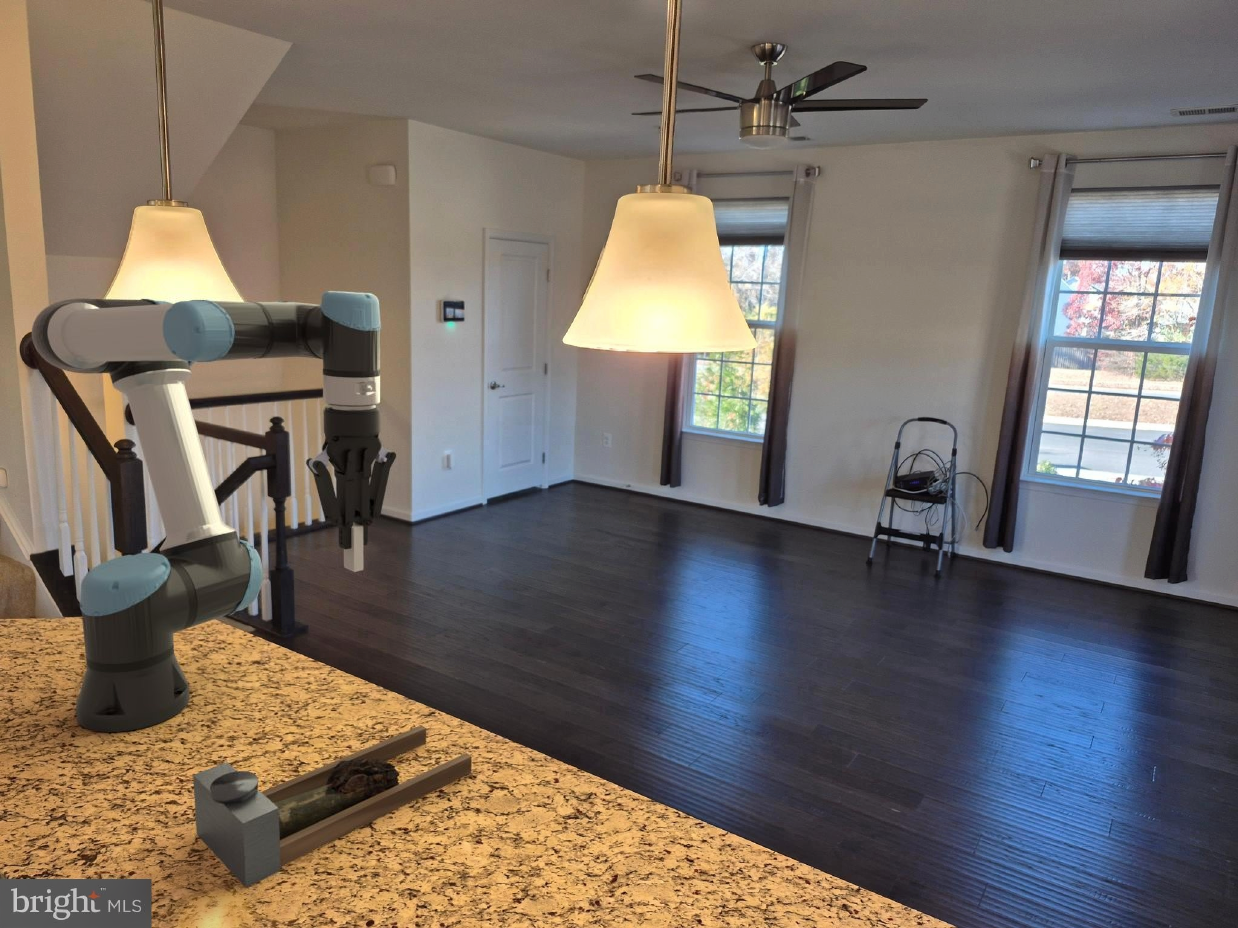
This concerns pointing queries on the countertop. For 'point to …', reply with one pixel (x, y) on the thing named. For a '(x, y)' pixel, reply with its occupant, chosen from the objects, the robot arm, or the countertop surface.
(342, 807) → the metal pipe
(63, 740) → the countertop surface
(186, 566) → the robot arm
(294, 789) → the channel rails
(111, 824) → the countertop surface
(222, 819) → the block
